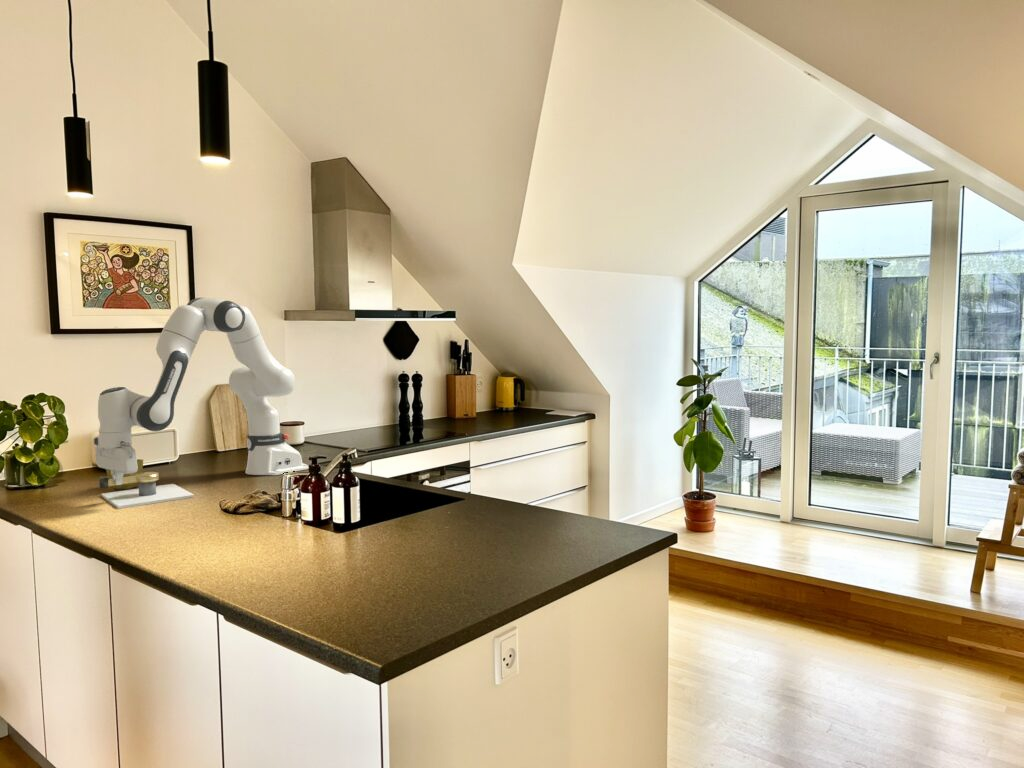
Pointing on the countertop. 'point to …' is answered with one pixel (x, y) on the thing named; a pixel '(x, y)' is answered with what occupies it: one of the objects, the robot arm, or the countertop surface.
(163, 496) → the base
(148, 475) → the locking lever
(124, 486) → the flower pot
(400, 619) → the countertop surface
